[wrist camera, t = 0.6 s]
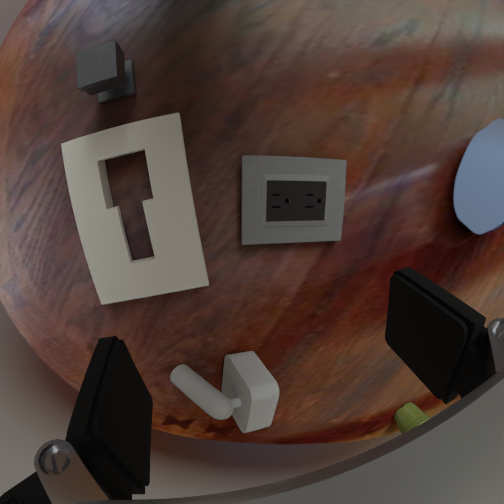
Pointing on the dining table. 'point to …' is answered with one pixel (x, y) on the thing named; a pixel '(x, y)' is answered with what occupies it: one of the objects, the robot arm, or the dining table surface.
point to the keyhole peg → (105, 72)
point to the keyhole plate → (156, 211)
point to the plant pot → (409, 417)
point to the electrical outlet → (292, 199)
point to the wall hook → (234, 391)
